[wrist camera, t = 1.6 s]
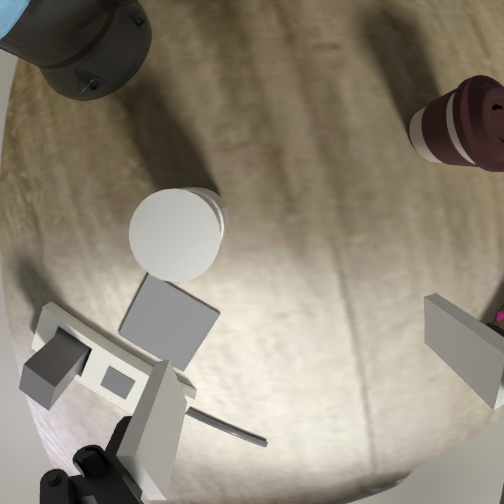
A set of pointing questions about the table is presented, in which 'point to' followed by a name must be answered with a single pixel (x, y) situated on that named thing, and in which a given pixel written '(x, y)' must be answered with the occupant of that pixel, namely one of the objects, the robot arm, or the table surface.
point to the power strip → (113, 367)
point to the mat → (168, 322)
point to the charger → (53, 368)
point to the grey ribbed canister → (178, 232)
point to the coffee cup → (463, 126)
